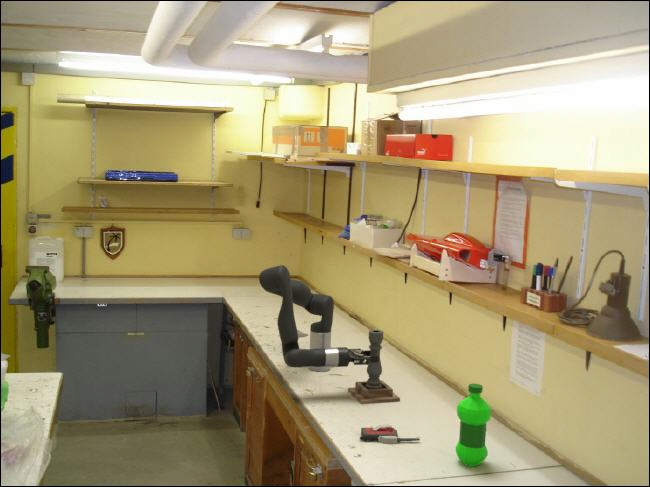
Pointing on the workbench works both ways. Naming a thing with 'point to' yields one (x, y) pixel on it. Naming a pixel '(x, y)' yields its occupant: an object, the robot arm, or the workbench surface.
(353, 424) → the workbench surface
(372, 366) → the candle holder
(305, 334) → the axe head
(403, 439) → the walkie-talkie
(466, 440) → the plastic bottle
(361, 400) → the walnut socket base
